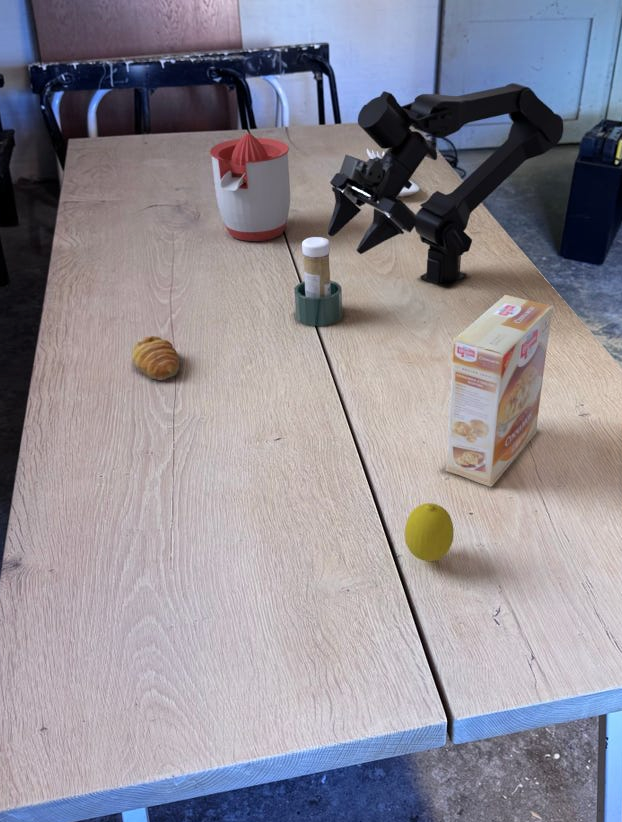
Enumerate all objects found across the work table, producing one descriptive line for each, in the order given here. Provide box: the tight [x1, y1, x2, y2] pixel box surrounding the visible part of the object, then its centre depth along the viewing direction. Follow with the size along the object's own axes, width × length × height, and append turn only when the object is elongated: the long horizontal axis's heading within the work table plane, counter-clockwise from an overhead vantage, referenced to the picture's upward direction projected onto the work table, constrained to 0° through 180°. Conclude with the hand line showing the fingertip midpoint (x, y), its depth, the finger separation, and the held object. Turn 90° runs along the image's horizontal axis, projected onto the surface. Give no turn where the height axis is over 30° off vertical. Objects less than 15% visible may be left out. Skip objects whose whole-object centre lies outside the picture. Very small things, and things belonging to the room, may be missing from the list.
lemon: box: [404, 502, 455, 562], centre depth 99 cm, size 6×6×8 cm
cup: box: [293, 279, 343, 327], centre depth 151 cm, size 8×8×5 cm
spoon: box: [366, 148, 420, 197], centre depth 208 cm, size 9×32×4 cm, turn 7°
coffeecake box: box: [445, 294, 554, 488], centre depth 113 cm, size 15×7×20 cm, turn 148°
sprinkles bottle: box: [301, 236, 331, 298], centre depth 148 cm, size 5×5×13 cm
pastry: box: [131, 335, 180, 381], centre depth 137 cm, size 9×7×4 cm
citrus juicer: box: [209, 132, 291, 242], centre depth 177 cm, size 16×17×20 cm
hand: (343, 243), depth 147 cm, fingers open, 9 cm apart
